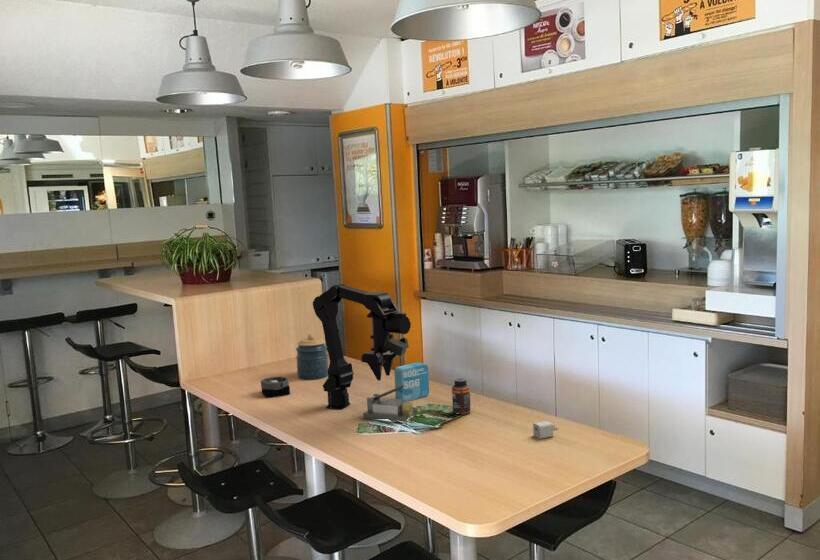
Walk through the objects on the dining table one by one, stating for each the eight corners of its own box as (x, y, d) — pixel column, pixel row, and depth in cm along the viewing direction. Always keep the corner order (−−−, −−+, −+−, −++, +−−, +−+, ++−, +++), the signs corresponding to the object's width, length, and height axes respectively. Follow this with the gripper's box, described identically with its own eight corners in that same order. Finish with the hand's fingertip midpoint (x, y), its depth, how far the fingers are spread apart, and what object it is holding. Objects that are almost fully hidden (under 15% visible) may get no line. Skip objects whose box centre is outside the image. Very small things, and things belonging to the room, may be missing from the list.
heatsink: (363, 419, 234) (362, 399, 233) (377, 410, 243) (376, 391, 242) (404, 423, 228) (403, 403, 227) (417, 414, 236) (416, 395, 236)
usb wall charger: (533, 435, 212) (533, 422, 211) (553, 431, 214) (553, 419, 214) (540, 439, 208) (540, 426, 207) (560, 435, 210) (560, 422, 210)
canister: (333, 372, 298) (331, 330, 296) (322, 380, 286) (320, 337, 284) (304, 371, 301) (301, 330, 299) (292, 379, 289) (289, 337, 286)
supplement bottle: (473, 410, 238) (472, 377, 236) (467, 416, 232) (465, 382, 231) (456, 409, 240) (455, 376, 239) (450, 414, 235) (448, 381, 233)
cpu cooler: (258, 378, 271) (285, 374, 275) (259, 392, 272) (285, 389, 276) (264, 384, 262) (291, 380, 265) (265, 399, 262) (292, 395, 266)
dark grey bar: (370, 403, 236) (368, 398, 236) (374, 400, 239) (372, 396, 239) (401, 390, 231) (399, 385, 231) (404, 388, 233) (402, 383, 233)
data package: (402, 402, 251) (401, 369, 249) (395, 399, 254) (393, 367, 253) (429, 395, 257) (428, 363, 256) (422, 393, 261) (421, 361, 260)
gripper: (390, 338, 221) (393, 387, 223) (415, 327, 238) (417, 372, 239) (359, 336, 225) (361, 384, 227) (385, 325, 242) (387, 370, 244)
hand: (383, 377), depth 234 cm, fingers open, 6 cm apart
